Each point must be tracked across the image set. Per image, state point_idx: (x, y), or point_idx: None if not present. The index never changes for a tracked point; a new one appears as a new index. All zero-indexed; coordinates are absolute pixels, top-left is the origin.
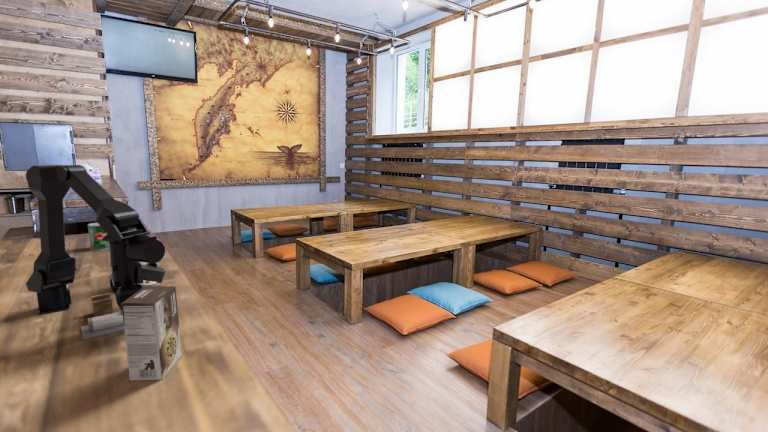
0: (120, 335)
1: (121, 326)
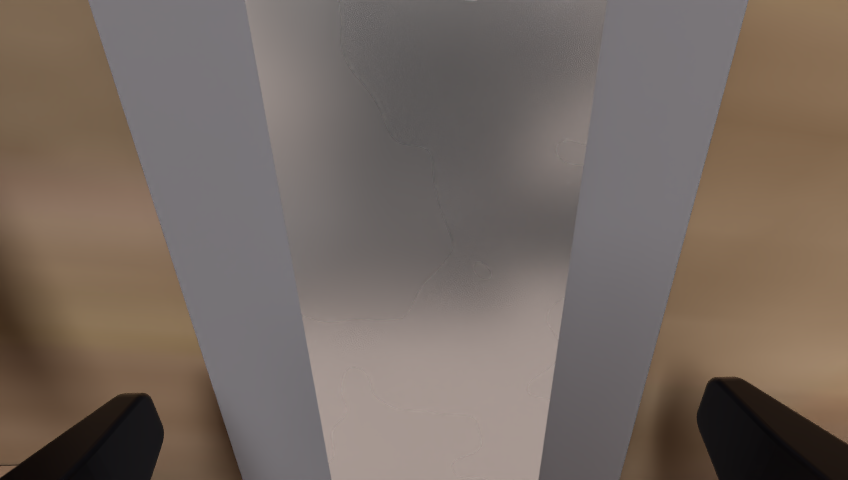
0: None
1: None
